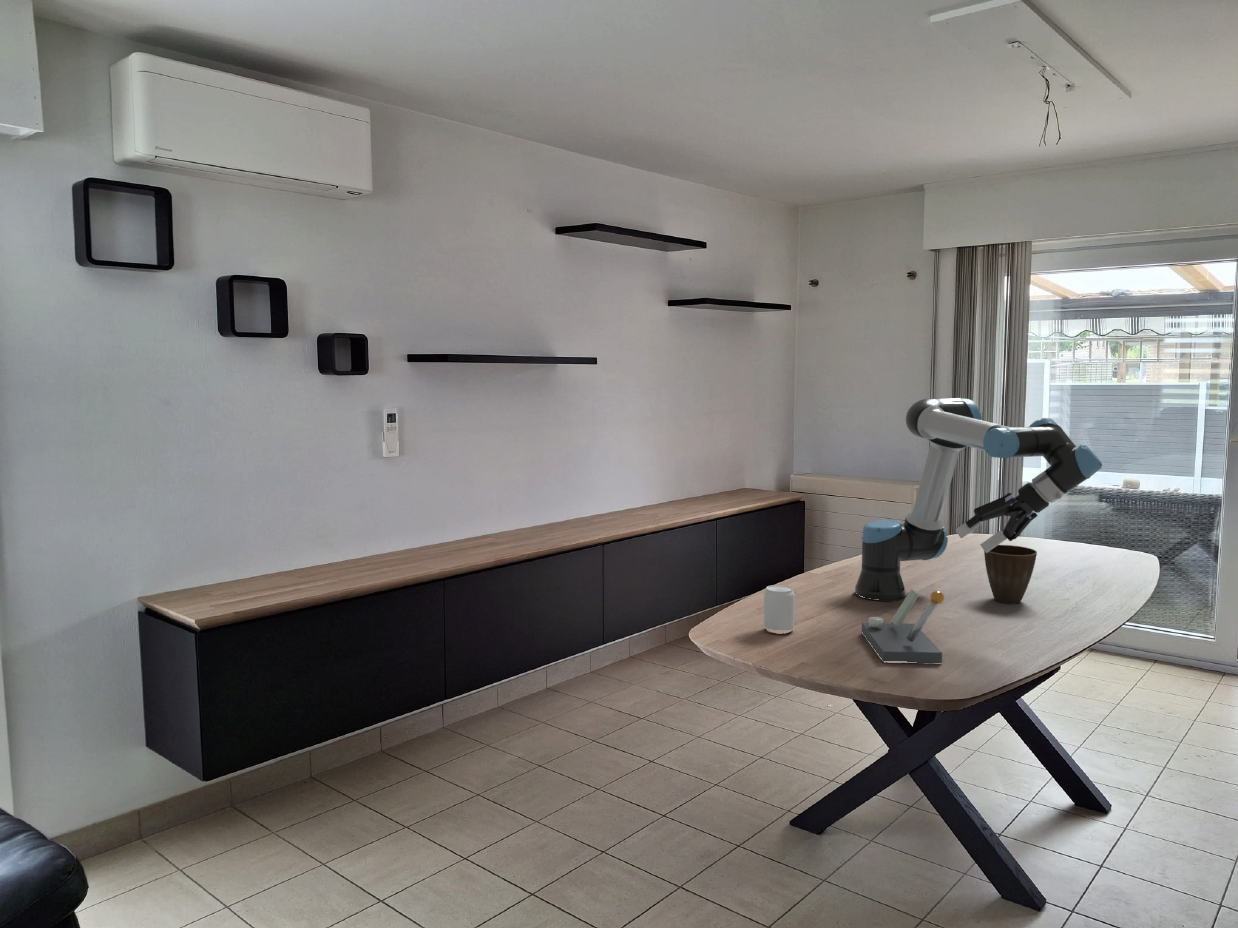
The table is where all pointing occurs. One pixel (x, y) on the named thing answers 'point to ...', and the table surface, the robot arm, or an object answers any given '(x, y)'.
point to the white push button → (875, 622)
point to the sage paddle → (905, 607)
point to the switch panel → (901, 644)
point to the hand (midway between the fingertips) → (970, 541)
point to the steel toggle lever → (926, 614)
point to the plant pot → (1009, 571)
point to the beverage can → (779, 607)
